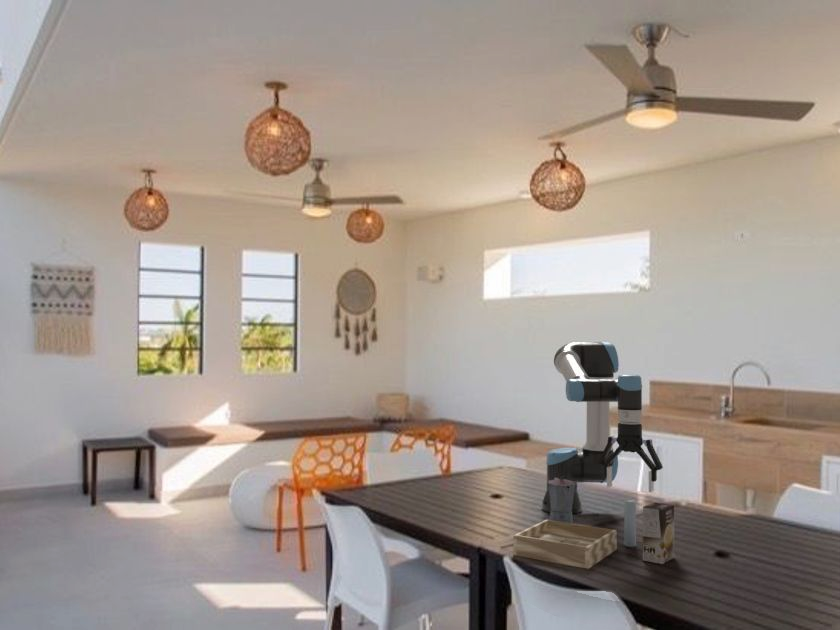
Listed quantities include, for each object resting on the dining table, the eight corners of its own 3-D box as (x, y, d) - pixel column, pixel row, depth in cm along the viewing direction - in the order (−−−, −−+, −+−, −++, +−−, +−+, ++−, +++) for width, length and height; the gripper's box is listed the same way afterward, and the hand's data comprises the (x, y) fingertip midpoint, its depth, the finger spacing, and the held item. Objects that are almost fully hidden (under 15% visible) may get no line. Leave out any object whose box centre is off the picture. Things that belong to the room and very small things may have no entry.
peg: (626, 543, 245) (626, 499, 246) (637, 544, 243) (637, 501, 244) (622, 545, 242) (622, 501, 243) (633, 547, 240) (633, 503, 241)
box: (546, 537, 251) (546, 519, 252) (616, 549, 238) (616, 530, 238) (513, 554, 232) (513, 535, 232) (588, 568, 218) (588, 547, 218)
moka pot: (557, 539, 250) (557, 478, 250) (537, 527, 265) (537, 470, 265) (583, 537, 252) (583, 477, 253) (562, 526, 267) (562, 469, 268)
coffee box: (663, 564, 222) (662, 509, 223) (642, 560, 226) (642, 506, 227) (674, 557, 229) (674, 504, 230) (654, 553, 233) (654, 501, 234)
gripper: (588, 421, 248) (588, 486, 247) (665, 426, 234) (665, 495, 233) (596, 419, 254) (596, 483, 253) (672, 424, 240) (672, 491, 239)
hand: (630, 489), depth 243 cm, fingers open, 13 cm apart
